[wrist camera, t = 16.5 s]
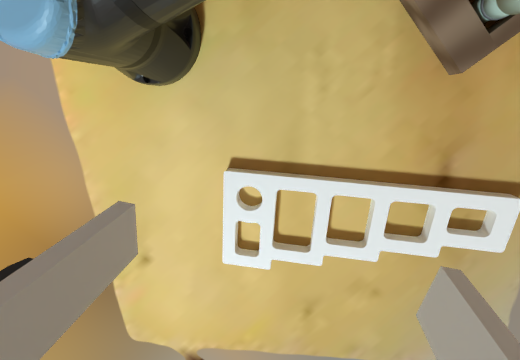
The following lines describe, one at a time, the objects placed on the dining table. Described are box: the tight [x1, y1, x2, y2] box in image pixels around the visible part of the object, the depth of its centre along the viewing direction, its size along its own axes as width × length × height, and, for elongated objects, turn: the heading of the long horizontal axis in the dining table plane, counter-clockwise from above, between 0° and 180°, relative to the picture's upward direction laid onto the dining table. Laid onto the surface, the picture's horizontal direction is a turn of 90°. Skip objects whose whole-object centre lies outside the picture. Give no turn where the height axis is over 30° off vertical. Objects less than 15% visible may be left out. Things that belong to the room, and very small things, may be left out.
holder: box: [223, 168, 520, 269], centre depth 45 cm, size 45×18×3 cm, turn 87°
